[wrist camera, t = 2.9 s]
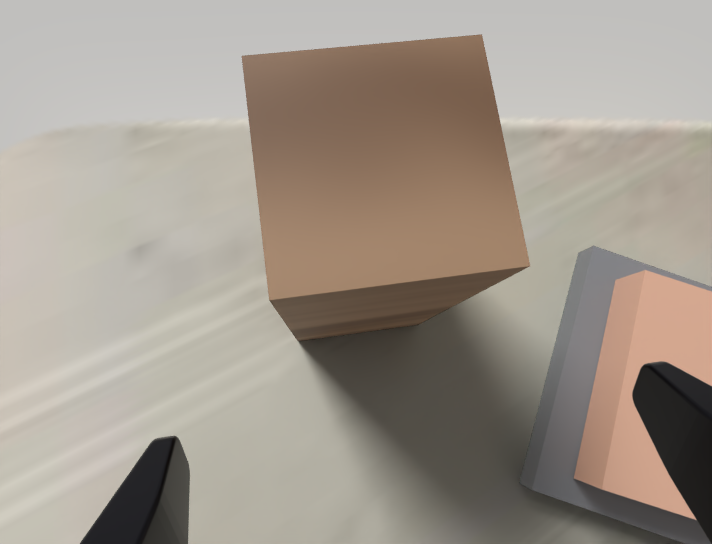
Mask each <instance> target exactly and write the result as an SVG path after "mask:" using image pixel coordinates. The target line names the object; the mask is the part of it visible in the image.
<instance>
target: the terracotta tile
mask: <svg viewBox="0 0 712 544" xmlns="http://www.w3.org/2000/svg"><path fill="white" fill-rule="evenodd" d="M659 361H664V362H668V363H670V364H672V365H674V366H676V367H677V368H679V369H681V370H683V371H685V372H687V373H689V374H690V375H692V376H694V377H696V378H698V379H700V380H701V381H703V382H705V383H707V384H709V385H711V386H712V291H709V290H706V289H702V288H699V287H696V286H693V285H690V284H687V283H684V282H681V281H678V280H675V279H672V278H669V277H666V276H662V275H659V274H656V273H653V272H650V271H647V270H644V271H641V272H638V273H635V274H632V275H629V276H626V277H623V278H620V279H617V280H615V285H614V289H613V294H612V299H611V304H610V308H609V313H608V318H607V323H606V327H605V332H604V337H603V342H602V346H601V351H600V356H599V361H598V365H597V370H596V375H595V380H594V384H593V389H592V394H591V399H590V403H589V408H588V413H587V418H586V422H585V427H584V432H583V437H582V441H581V446H580V451H579V456H578V460H577V465H576V470H575V475H574V479H577V480H579V481H582V482H584V483H587V484H589V485H592V486H594V487H597V488H600V489H602V490H605V491H608V492H611V493H615V494H618V495H621V496H624V497H627V498H630V499H633V500H636V501H639V502H642V503H645V504H649V505H652V506H655V507H658V508H661V509H664V510H667V511H670V512H673V513H676V514H680V515H683V516H686V517H689V518H692V519H695V520H696V518H695V517H694V515H693V513H692V512H691V510H690V509H689V507H688V505H687V504H686V502H685V500H684V499H683V497H682V496H681V494H680V492H679V491H678V489H677V488H676V486H675V484H674V482H673V481H672V479H671V477H670V476H669V474H668V472H667V470H666V468H665V466H664V464H663V462H662V460H661V458H660V456H659V454H658V452H657V450H656V448H655V446H654V444H653V442H652V440H651V438H650V436H649V434H648V432H647V430H646V428H645V426H644V424H643V421H642V419H641V417H640V415H639V413H638V411H637V409H636V407H635V405H634V402H633V398H632V392H633V388H634V386H635V383H636V380H637V377H638V374H639V371H640V369H641V367H642V366H643V365H644V364H646V363H652V362H659Z"/></svg>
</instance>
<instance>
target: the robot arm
mask: <svg viewBox="0 0 712 544" xmlns="http://www.w3.org/2000/svg"><path fill="white" fill-rule="evenodd" d="M632 398H633V402H634V405H635V407H636V409H637V411H638V413H639V415H640V417H641V419H642V421H643V424H644V426H645V428H646V430H647V432H648V434H649V436H650V438H651V440H652V442H653V444H654V446H655V448H656V450H657V452H658V454H659V456H660V458H661V460H662V462H663V464H664V466H665V468H666V470H667V472H668V474H669V476H670V477H671V479H672V481H673V482H674V484H675V486H676V488H677V489H678V491H679V492H680V494H681V496H682V497H683V499H684V500H685V502H686V504H687V505H688V507H689V509H690V510H691V512H692V513H693V515H694V517H695V518H696V520H697V522H698V523H699V525H700V526H701V528H702V530H703V531H704V533H705V534H706V536H707V538H708V539H709V541H710V543H711V544H712V386H711V385H709V384H707V383H705V382H703V381H701V380H700V379H698V378H696V377H694V376H692V375H690V374H689V373H687V372H685V371H683V370H681V369H679V368H677V367H676V366H674V365H672V364H670V363H668V362H664V361H659V362H652V363H646V364H644V365H643V366H642V367H641V369H640V371H639V374H638V377H637V380H636V383H635V386H634V388H633V392H632ZM189 485H190V470H189V464H188V461H187V458H186V456H185V453H184V450H183V448H182V445H181V443H180V440H179V439H178V437H176V436H169V437H162V438H157V439H155V440H153V441H152V442H151V443H150V445H149V446H148V448H147V449H146V450H145V452H144V453H143V455H142V456H141V457H140V459H139V460H138V462H137V463H136V465H135V466H134V467H133V469H132V470H131V472H130V473H129V475H128V476H127V477H126V479H125V480H124V482H123V483H122V484H121V486H120V487H119V489H118V490H117V492H116V493H115V494H114V496H113V497H112V499H111V500H110V502H109V503H108V504H107V506H106V507H105V509H104V510H103V511H102V513H101V514H100V516H99V517H98V519H97V520H96V521H95V523H94V524H93V526H92V527H91V529H90V530H89V531H88V533H87V534H86V536H85V537H84V538H83V540H82V541H81V543H80V544H188V521H189Z"/></svg>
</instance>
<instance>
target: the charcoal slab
mask: <svg viewBox="0 0 712 544" xmlns="http://www.w3.org/2000/svg"><path fill="white" fill-rule="evenodd" d="M644 270H647V271H650V272H653V273H656V274H659V275H662V276H666V277H669V278H672V279H675V280H678V281H681V282H684V283H687V284H690V285H693V286H696V287H699V288H702V289H706V290H709V291H712V287H710V286H708V285H705V284H702V283H699V282H696V281H693V280H690V279H687V278H685V277H682V276H679V275H676V274H673V273H670V272H667V271H664V270H662V269H659V268H656V267H653V266H650V265H647V264H644V263H642V262H639V261H636V260H633V259H630V258H627V257H624V256H621V255H619V254H616V253H613V252H610V251H607V250H604V249H601V248H598V247H596V246H592V247H590V248H588V249H586V250H584V251H582V252H580V253H578V257H577V260H576V264H575V268H574V272H573V276H572V280H571V284H570V288H569V291H568V295H567V299H566V303H565V307H564V311H563V315H562V319H561V322H560V326H559V330H558V334H557V338H556V342H555V346H554V350H553V353H552V357H551V361H550V365H549V369H548V373H547V377H546V381H545V384H544V388H543V392H542V396H541V400H540V404H539V408H538V412H537V415H536V419H535V423H534V427H533V431H532V435H531V439H530V443H529V446H528V450H527V454H526V458H525V462H524V466H523V470H522V474H521V477H520V481H519V483H520V484H522V485H524V486H525V487H527V488H529V489H531V490H533V491H536V492H539V493H542V494H544V495H547V496H550V497H553V498H556V499H559V500H562V501H564V502H567V503H570V504H573V505H576V506H579V507H582V508H584V509H587V510H590V511H593V512H596V513H599V514H602V515H604V516H607V517H610V518H613V519H616V520H619V521H622V522H624V523H627V524H630V525H633V526H636V527H639V528H642V529H644V530H647V531H650V532H653V533H656V534H659V535H662V536H664V537H667V538H670V539H673V540H676V541H679V542H682V543H684V544H711V543H710V541H709V539H708V538H707V536H706V534H705V533H704V531H703V530H702V528H701V526H700V525H699V523H698V522H697V520H695V519H692V518H689V517H686V516H683V515H680V514H676V513H673V512H670V511H667V510H664V509H661V508H658V507H655V506H652V505H649V504H645V503H642V502H639V501H636V500H633V499H630V498H627V497H624V496H621V495H618V494H615V493H611V492H608V491H605V490H602V489H600V488H597V487H594V486H592V485H589V484H587V483H584V482H582V481H579V480H577V479H574V475H575V470H576V465H577V460H578V456H579V451H580V446H581V441H582V437H583V432H584V427H585V422H586V418H587V413H588V408H589V403H590V399H591V394H592V389H593V384H594V380H595V375H596V370H597V365H598V361H599V356H600V351H601V346H602V342H603V337H604V332H605V327H606V323H607V318H608V313H609V308H610V304H611V299H612V294H613V289H614V285H615V280H617V279H620V278H623V277H626V276H629V275H632V274H635V273H638V272H641V271H644Z"/></svg>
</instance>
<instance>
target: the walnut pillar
mask: <svg viewBox="0 0 712 544" xmlns="http://www.w3.org/2000/svg"><path fill="white" fill-rule="evenodd" d="M242 63H243V72H244V81H245V89H246V98H247V107H248V116H249V125H250V134H251V143H252V151H253V160H254V169H255V178H256V187H257V196H258V204H259V213H260V222H261V231H262V240H263V249H264V257H265V266H266V275H267V284H268V293H269V300H270V302H271V303H272V305H273V306H274V308H275V309H276V310H277V312H278V313H279V315H280V316H281V318H282V319H283V320H284V322H285V323H286V325H287V326H288V328H289V329H290V330H291V332H292V333H293V335H294V336H295V338H296V339H297V340H298V341H305V340H312V339H319V338H326V337H333V336H341V335H348V334H355V333H362V332H369V331H377V330H384V329H391V328H398V327H405V326H413V325H418V324H420V323H422V322H424V321H426V320H428V319H430V318H432V317H434V316H436V315H437V314H439V313H441V312H443V311H445V310H447V309H449V308H451V307H453V306H455V305H457V304H458V303H460V302H462V301H464V300H466V299H468V298H470V297H472V296H474V295H476V294H478V293H479V292H481V291H483V290H485V289H487V288H489V287H491V286H493V285H495V284H497V283H499V282H500V281H502V280H504V279H506V278H508V277H510V276H512V275H514V274H516V273H518V272H520V271H522V270H523V269H525V268H527V267H529V266H530V263H529V258H528V254H527V249H526V244H525V239H524V234H523V230H522V225H521V220H520V215H519V210H518V206H517V201H516V196H515V191H514V186H513V182H512V177H511V172H510V167H509V162H508V158H507V153H506V148H505V143H504V138H503V134H502V129H501V124H500V119H499V114H498V110H497V105H496V100H495V95H494V90H493V86H492V81H491V76H490V71H489V67H488V62H487V57H486V52H485V47H484V42H483V38H482V35H472V36H461V37H449V38H437V39H426V40H415V41H404V42H393V43H381V44H372V45H359V46H348V47H337V48H326V49H314V50H303V51H291V52H280V53H269V54H258V55H247V56H242Z"/></svg>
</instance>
